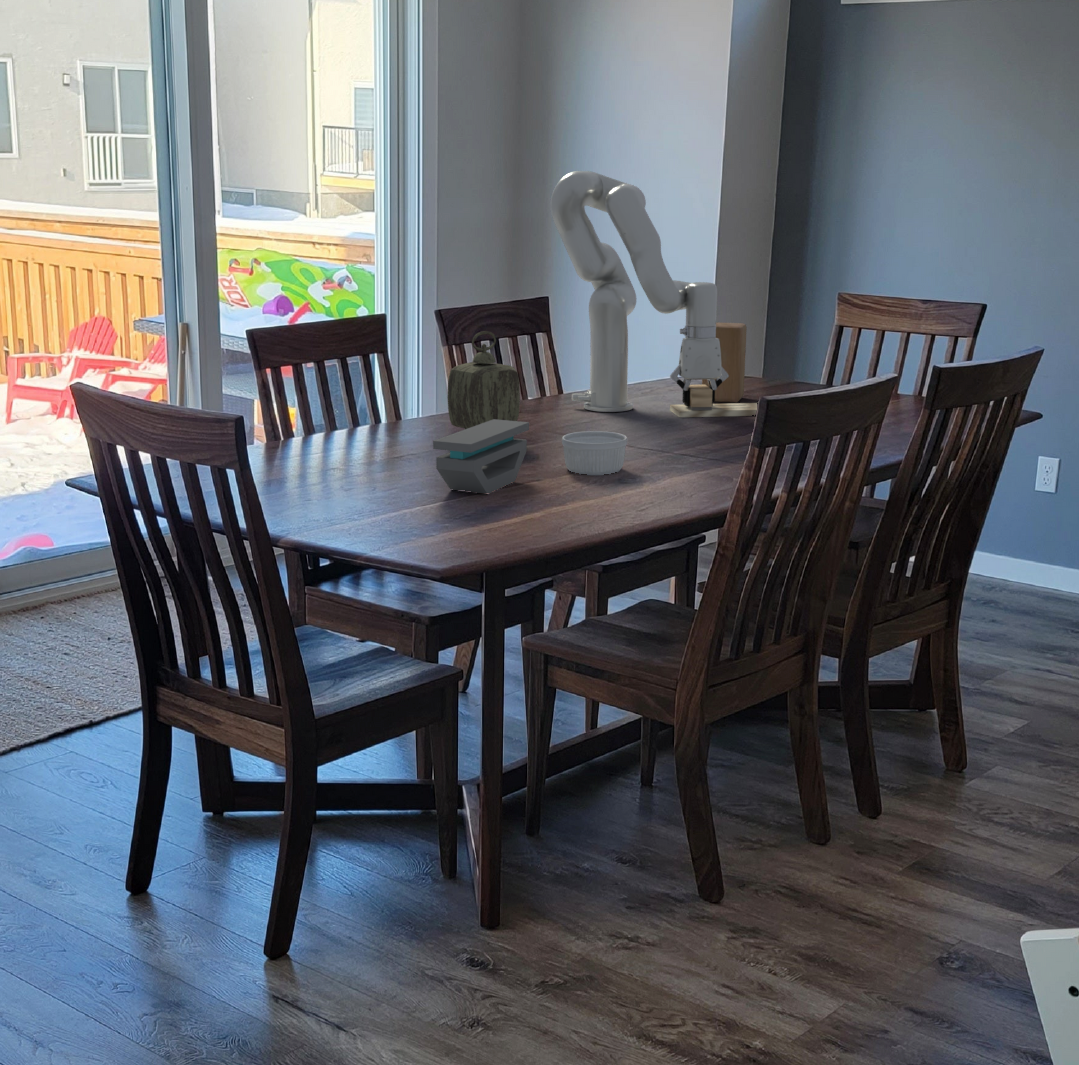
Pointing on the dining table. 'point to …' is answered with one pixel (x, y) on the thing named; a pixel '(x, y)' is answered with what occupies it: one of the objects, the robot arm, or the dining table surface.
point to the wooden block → (731, 361)
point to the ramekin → (594, 452)
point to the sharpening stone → (482, 456)
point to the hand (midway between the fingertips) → (698, 404)
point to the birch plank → (716, 410)
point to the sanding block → (700, 397)
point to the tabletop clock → (482, 390)
